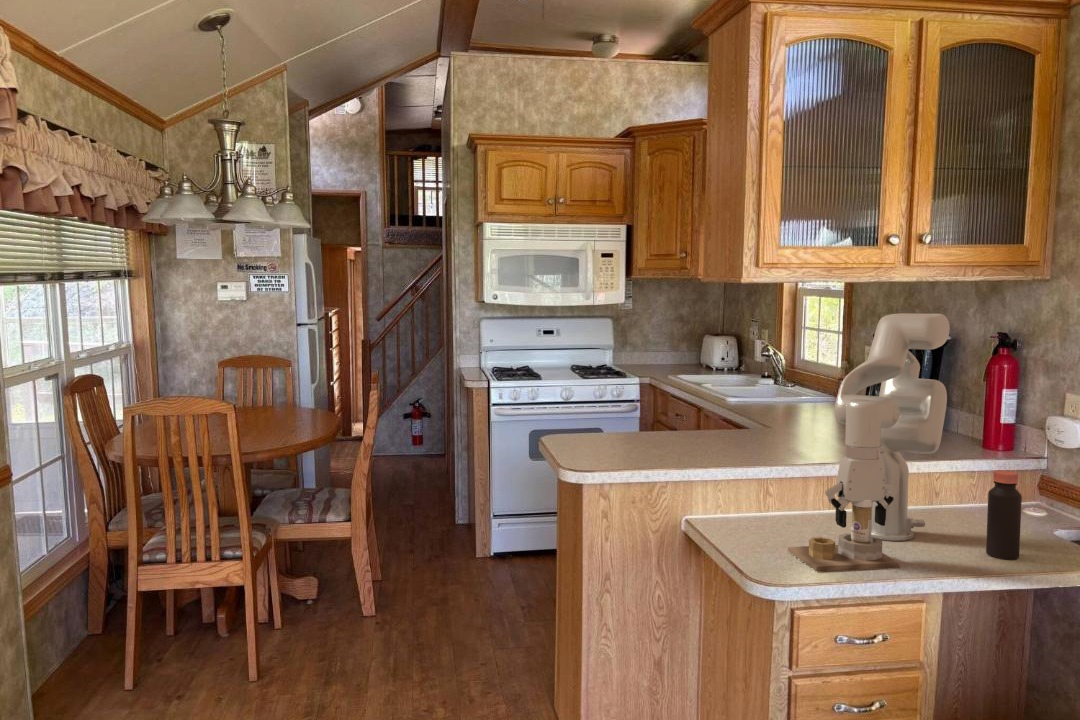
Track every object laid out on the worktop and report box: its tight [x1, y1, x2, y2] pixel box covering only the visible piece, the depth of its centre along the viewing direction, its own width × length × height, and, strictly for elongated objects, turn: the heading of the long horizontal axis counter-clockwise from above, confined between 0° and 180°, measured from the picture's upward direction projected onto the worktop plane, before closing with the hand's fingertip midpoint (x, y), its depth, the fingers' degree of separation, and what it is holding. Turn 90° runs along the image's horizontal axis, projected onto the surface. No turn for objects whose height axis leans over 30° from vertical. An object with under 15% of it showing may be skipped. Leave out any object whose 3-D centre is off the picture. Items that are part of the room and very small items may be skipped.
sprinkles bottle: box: [850, 500, 873, 544], centre depth 180 cm, size 5×5×14 cm
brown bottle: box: [985, 469, 1023, 561], centre depth 181 cm, size 7×7×20 cm
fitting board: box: [787, 532, 900, 572], centre depth 179 cm, size 20×14×5 cm
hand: (860, 525), depth 179 cm, fingers open, 9 cm apart
